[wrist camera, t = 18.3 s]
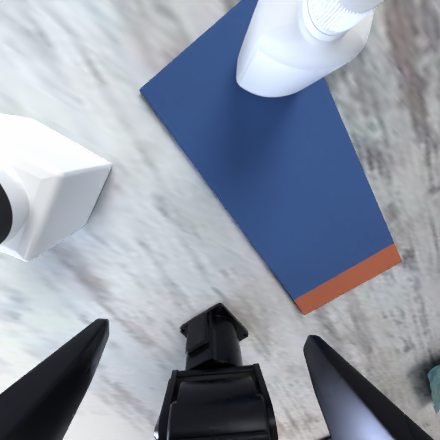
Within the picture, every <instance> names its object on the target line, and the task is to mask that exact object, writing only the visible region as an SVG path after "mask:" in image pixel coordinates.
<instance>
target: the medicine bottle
mask: <svg viewBox="0 0 440 440" xmlns="http://www.w3.org/2000/svg"><path fill="white" fill-rule="evenodd" d="M111 167H112V164H111V163H110V162H109V161H107V160H105V159H103V158H102V157H100V156H98V155H96V154H95V153H93V152H91V151H89V150H87V149H86V148H84V147H82V146H80V145H79V144H77V143H75V142H73V141H71V140H70V139H68V138H66V137H64V136H63V135H61V134H59V133H57V132H56V131H54V130H52V129H50V128H48V127H47V126H45V125H43V124H41V123H40V122H38V121H36V120H34V119H32V118H27V117H20V116H13V115H7V114H0V251H1V252H4V253H6V254H9V255H11V256H14V257H16V258H19V259H21V260H24V261H27V262H28V261H31V260H33V259H35V258H36V257H38V256H40V255H41V254H43V253H44V252H46V251H47V250H49V249H50V248H52V247H53V246H55V245H56V244H58V243H59V242H61V241H62V240H64V239H65V238H67V237H68V236H70V235H71V234H73V233H74V232H76V231H77V230H79V229H80V228H82V227H83V226H85V225H86V223H87V221H88V219H89V217H90V214H91V212H92V210H93V208H94V205H95V203H96V201H97V199H98V196H99V194H100V192H101V190H102V188H103V185H104V183H105V181H106V179H107V176H108V174H109V172H110V170H111Z"/></svg>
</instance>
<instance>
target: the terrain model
mask: <svg viewBox="0 0 440 440" xmlns="http://www.w3.org/2000/svg"><path fill="white" fill-rule="evenodd" d="M428 378H429V381H430V387H431V390H432V393H431V396H432V398H433V403H434V409H435V411H436V414H437V413H438V412H439V409H440V365H437V366H436V367H434V368H432V369H431V370H430V372H429V373H428Z"/></svg>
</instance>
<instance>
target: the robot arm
mask: <svg viewBox="0 0 440 440" xmlns="http://www.w3.org/2000/svg"><path fill="white" fill-rule="evenodd" d="M219 307H221V308H219ZM180 332H181V333H182V334H183V335H184V336H185V337H186V338H187V342H186V352H185V353H186V354H187V359H186V370H184V371H178V370H173V371H172V375H171V379H169V382H168V386H167V390H166V394H165V398H164V402H163V406H162V410H161V413H160V416H159V418H158V421H157V423H156V426H155V429H154V437H155V439H156V440H278V433H277V426H276V421H275V415H274V411H273V407H272V403H271V399H270V396H269V393H268V390H267V387H266V384H265V381H264V378H263V375H262V372H261V369H260V366H259V364H253V365H246V366H243V364H242V357H241V351H240V345H239V341H241V340H243V339H245V338H246V337H248V331H247V330H246V329H245V328H244V327H243V325H242V324H241V323H240V322H239V321H238V320H237V319H236V318H235V317H234V316H233V315H232V314H231V312H230V311H229V310H228V309H227V308H226V307H225V306H224V305H223V304H222V303H218V304H216V305H215V306H213V307H211V308H210V309H208V310H206V311H205V312H203V313H202V314H200V315H198V316H197V317H195V318H193V319H192V320H190V321H188V322H187V323H185V324H183V325H182V326H181V327H180ZM108 337H109V320H108V319H97V320H95V321H94V322H93V323H91V324H90V325H89V326H87V327H86V328H85V329H84V330H82V331H81V332H80V333H78V334H77V335H76V336H75V337H73V338H72V339H71V340H69V341H68V342H67V343H66V344H64V345H63V346H62V347H60V348H59V349H58V350H57V351H55V352H54V353H53V354H51V355H50V356H49V357H47V358H46V359H45V360H44V361H42V362H41V363H40V364H38V365H37V366H36V367H35V368H33V369H32V370H31V371H29V372H28V373H27V374H26V375H24V376H23V377H22V378H20V379H19V380H18V381H17V382H15V383H14V384H13V385H11V386H10V387H9V388H8V389H6V390H5V391H4V392H2V393H1V394H0V440H62V439H63V437H64V435H65V433H66V431H67V429H68V427H69V425H70V423H71V421H72V419H73V417H74V415H75V413H76V411H77V409H78V407H79V405H80V403H81V401H82V399H83V397H84V395H85V393H86V391H87V389H88V387H89V385H90V383H91V381H92V378H93V376H94V374H95V371H96V368H97V366H98V363H99V361H100V358H101V356H102V353H103V350H104V348H105V345H106V343H107V340H108ZM303 351H304V356H305V359H306V363H307V367H308V370H309V374H310V377H311V381H312V385H313V388H314V391H315V394H316V397H317V400H318V403H319V405H320V408H321V411H322V413H323V416H324V419H325V422H326V424H327V427H328V430H329V433H330V435H331V438H332V440H434V439H433V438H431V437H430V436H429V435H428V434H427V433H426V432H425V431H423V430H422V429H421V428H420V427H419V426H418V425H417V424H416V423H414V422H413V421H412V420H411V419H410V418H409V417H408V416H407V415H405V414H404V413H403V412H402V411H401V410H400V409H399V408H398V407H397V406H396V405H394V404H393V403H392V402H391V401H390V400H389V399H388V398H387V397H386V396H385V395H383V394H382V393H381V392H380V391H379V390H378V389H377V388H376V387H375V386H373V385H372V384H371V383H370V382H369V381H368V380H367V379H366V378H365V377H363V376H362V375H361V374H360V373H359V372H358V371H357V370H356V369H355V368H354V367H352V366H351V365H350V364H349V363H348V362H347V361H346V360H345V359H344V358H342V357H341V356H340V355H339V354H338V353H337V352H336V351H335V350H334V349H333V348H331V347H330V346H329V345H328V344H327V343H326V342H325V341H324V340H323V339H321V338H320V337H319V336H317V335H309V336H308V338H307V340H306V343H305V345H304V349H303Z"/></svg>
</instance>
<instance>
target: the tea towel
mask: <svg viewBox="0 0 440 440" xmlns="http://www.w3.org/2000/svg"><path fill="white" fill-rule="evenodd" d="M258 1H259V0H242V1H240V2H239V3H238V4H237V5H236V6H235V7H233V8H232V9H231V10H230V11H229V12H228V13H227V14H225V15H224V16H223V17H222V18H221V19H220V20H219V21H217V22H216V23H215V24H214V25H213V26H212V27H211V28H209V29H208V30H207V31H206V32H205V33H204V34H203V35H201V36H200V37H199V38H198V39H197V40H196V41H195V42H193V43H192V44H191V45H190V46H189V47H188V48H187V49H185V50H184V51H183V52H182V53H181V54H180V55H179V56H177V57H176V58H175V59H174V60H173V61H172V62H171V63H169V64H168V65H167V66H166V67H165V68H164V69H163V70H161V71H160V72H159V73H158V74H157V75H156V76H154V77H153V78H152V79H151V80H150V81H149V82H148V83H146V84H145V85H144V86H143V87H142V88H141V89H140V92H141V93H142V95H143V96H144V97H145V99H146V100H147V101H148V103H149V104H150V105H151V107H152V108H153V109H154V111H155V112H156V114H157V115H158V116H159V118H160V119H161V120H162V122H163V123H164V124H165V126H166V127H167V129H168V130H169V131H170V133H171V134H172V135H173V137H174V138H175V139H176V141H177V142H178V144H179V145H180V146H181V148H182V149H183V150H184V152H185V153H186V154H187V156H188V157H189V159H190V160H191V161H192V163H193V164H194V165H195V167H196V168H197V169H198V171H199V172H200V173H201V175H202V176H203V178H204V179H205V180H206V182H207V183H208V184H209V186H210V187H211V188H212V190H213V191H214V193H215V194H216V195H217V197H218V198H219V199H220V201H221V202H222V203H223V205H224V206H225V208H226V209H227V210H228V212H229V213H230V214H231V216H232V217H233V218H234V220H235V221H236V222H237V224H238V225H239V227H240V228H241V229H242V231H243V232H244V233H245V235H246V236H247V237H248V239H249V240H250V242H251V243H252V244H253V246H254V247H255V248H256V250H257V251H258V252H259V254H260V255H261V257H262V258H263V259H264V261H265V262H266V263H267V265H268V266H269V267H270V269H271V270H272V272H273V273H274V274H275V276H276V277H277V278H278V280H279V281H280V282H281V284H282V285H283V286H284V288H285V289H286V291H287V292H288V293H289V295H290V296H291V297H292V299H293V300H294V301H295V303H296V304H297V306H298V307H299V308H300V310H301V311H302V312H303V314H304V315H306V314H308V313H309V312H311V311H313V310H315V309H317V308H318V307H320V306H322V305H324V304H326V303H328V302H329V301H331V300H333V299H335V298H337V297H338V296H340V295H342V294H344V293H346V292H347V291H349V290H351V289H353V288H355V287H357V286H358V285H360V284H362V283H364V282H366V281H367V280H369V279H371V278H373V277H375V276H377V275H378V274H380V273H382V272H384V271H386V270H387V269H389V268H391V267H393V266H395V265H396V264H398V263H400V262H402V260H401V258H400V256H399V253H398V251H397V249H396V246H395V244H394V242H393V239H392V237H391V235H390V232H389V230H388V227H387V225H386V223H385V220H384V218H383V216H382V213H381V211H380V209H379V206H378V204H377V202H376V199H375V197H374V194H373V192H372V190H371V187H370V185H369V183H368V180H367V178H366V176H365V173H364V171H363V169H362V166H361V164H360V161H359V159H358V157H357V154H356V152H355V150H354V147H353V145H352V143H351V140H350V138H349V136H348V133H347V131H346V128H345V126H344V124H343V121H342V119H341V117H340V114H339V112H338V110H337V107H336V105H335V103H334V100H333V98H332V95H331V93H330V91H329V88H328V86H327V84H326V81H325V79H324V77H323V78H321V79H319V80H318V81H316V82H314V83H312V84H311V85H309V86H307V87H306V88H304V89H302V90H300V91H298V92H296V93H293V94H291V95H287V96H282V97H263V96H259V95H256V94H253V93H251V92H248V91H247V90H245V89H243V88H242V87H240V86H239V84H238V83H237V80H236V72H237V61H238V56H239V53H240V50H241V47H242V44H243V41H244V38H245V36H246V33H247V30H248V27H249V24H250V22H251V19H252V16H253V13H254V11H255V8H256V6H257V3H258Z"/></svg>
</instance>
